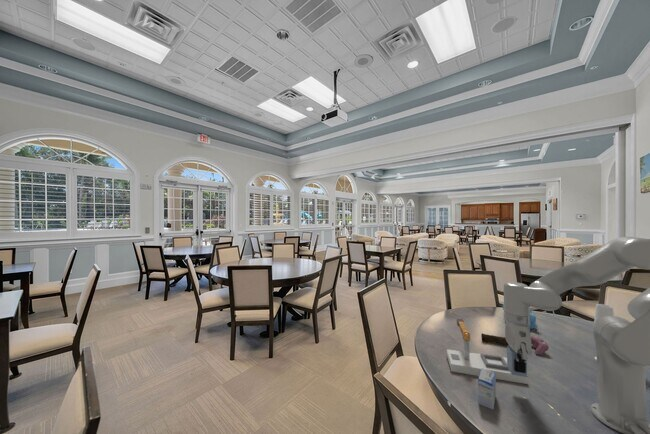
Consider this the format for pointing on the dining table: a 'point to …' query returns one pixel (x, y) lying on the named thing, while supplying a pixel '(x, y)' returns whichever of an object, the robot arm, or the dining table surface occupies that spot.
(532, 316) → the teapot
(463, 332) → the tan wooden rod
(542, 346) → the video game controller
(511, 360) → the blue rectangular block
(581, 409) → the dining table surface
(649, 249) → the robot arm
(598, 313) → the champagne flute
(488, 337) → the hand tool
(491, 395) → the medicine box
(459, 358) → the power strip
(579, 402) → the dining table surface
